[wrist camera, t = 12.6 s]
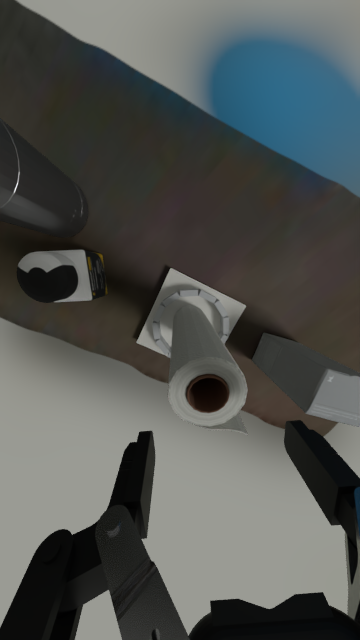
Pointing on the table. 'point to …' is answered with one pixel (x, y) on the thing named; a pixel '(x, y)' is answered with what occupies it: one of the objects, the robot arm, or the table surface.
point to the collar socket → (181, 294)
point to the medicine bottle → (62, 275)
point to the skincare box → (311, 379)
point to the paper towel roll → (204, 375)
